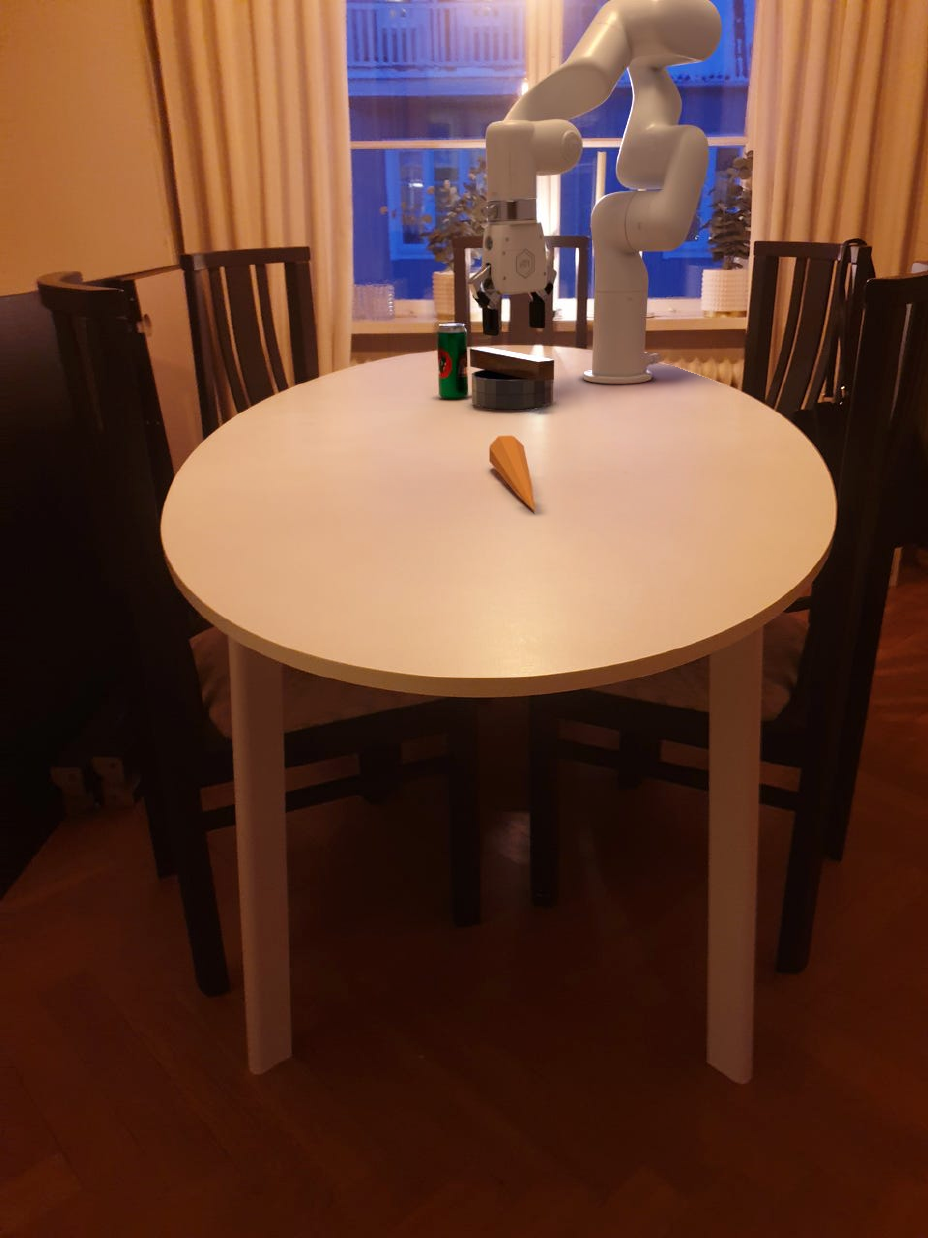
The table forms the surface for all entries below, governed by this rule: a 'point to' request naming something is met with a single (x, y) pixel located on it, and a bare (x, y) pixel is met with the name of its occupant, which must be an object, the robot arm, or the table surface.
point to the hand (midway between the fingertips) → (514, 331)
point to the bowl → (509, 392)
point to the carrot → (512, 466)
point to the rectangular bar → (512, 363)
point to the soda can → (452, 361)
